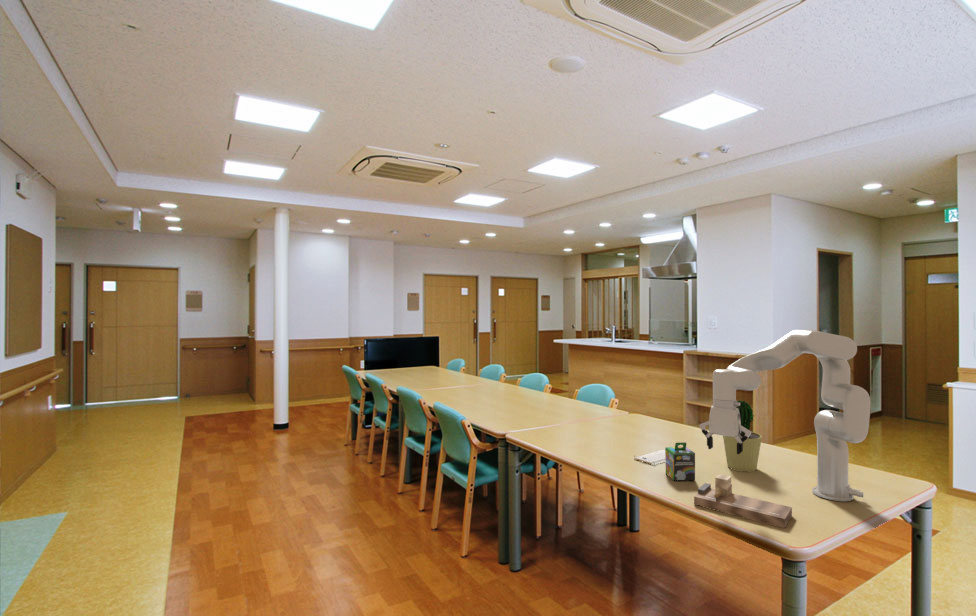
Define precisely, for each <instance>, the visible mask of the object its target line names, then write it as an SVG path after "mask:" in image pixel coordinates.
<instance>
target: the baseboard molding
mask: <svg viewBox="0 0 976 616" xmlns="http://www.w3.org/2000/svg"><path fill="white" fill-rule="evenodd" d="M633 457H634V458H633V459H636V460H635V461H637V460H639V461H638V462H640V461H643V462H642V463H644V462H646V463H645V464H647V463H649V464H648V465H650V464H652V465H651V466H653V465H655V464H658V465H660V464H659V463H661V462H664V463H666V462H665V448H664V449H660V450H656V451H654V452H649V453H646V454H643V455H639V456H636V455H634V456H633ZM661 464H662V463H661ZM655 466H656V465H655Z"/></svg>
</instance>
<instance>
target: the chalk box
mask: <svg viewBox="0 0 976 616" xmlns="http://www.w3.org/2000/svg"><path fill="white" fill-rule="evenodd" d="M664 449H665V461H666V462H665V475H667V476H668V477H669V476H670V477H671V478H672V479H673V480H672V479H671V478H670V477H669V478H670V479H671V480H672V481H674V480H675V481H674V482H679V481H678V480H695V481H696V452H694V451H693V450H691V449H690V448H689V447H687V442H675V445H674V446H667V447H665V448H664ZM676 480H677V481H676Z"/></svg>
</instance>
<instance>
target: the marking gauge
mask: <svg viewBox="0 0 976 616" xmlns="http://www.w3.org/2000/svg"><path fill="white" fill-rule="evenodd" d="M714 481H715V483H714V484H715V487H714V489H715V495H714V497H715V498H716V500H718V497H719V496H720V495H721V496H725V497H728V496H729V495H730V494H731V493H733V484H732V475H731V476H730V475H726V474H721V473H719V474H718V475H716V476H715V480H714Z"/></svg>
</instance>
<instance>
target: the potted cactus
mask: <svg viewBox="0 0 976 616" xmlns="http://www.w3.org/2000/svg"><path fill="white" fill-rule="evenodd" d="M736 401H737V402H740V406H736V408H738V409H739V413H740V421H741V426H743V427H745V428H746V429H748V430H749V431H751V430H750V428H752V429H753V427H751V423H752V422H754V421H755V419H754V417H756V415H755V414H754V408H753V407H752V406H751V404H749V403H750V402H747V401H745V400H739V399H738V400H737V399H736ZM752 408H753V409H752ZM740 435H741V437H742V438H743V437H744V436H745V432H743V431H741V434H740ZM762 437H763V436H762V435H761V434H760V433H758V432H755V431H754V432H753V431H751V434H750V436H749V437H748V439H746V440H745V441H744V442H743V452H741V453H740V454H737V443H738V441H737V440H736V439H735V437H729V436H723V435H722V438H723V445H724V452H725V458H726V465H727V468H729V467H730V468H729V469H731V468H732V469H731V470H733V469H735V470H734V471H737V470H738V471H737V472H742V471H747V472H746V473H751V472H750V471H753V472H756V471H757V468H758V461H759V456H760V451H761V450H760V449H761V445H762V444H761V443H762ZM755 470H756V471H755Z"/></svg>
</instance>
